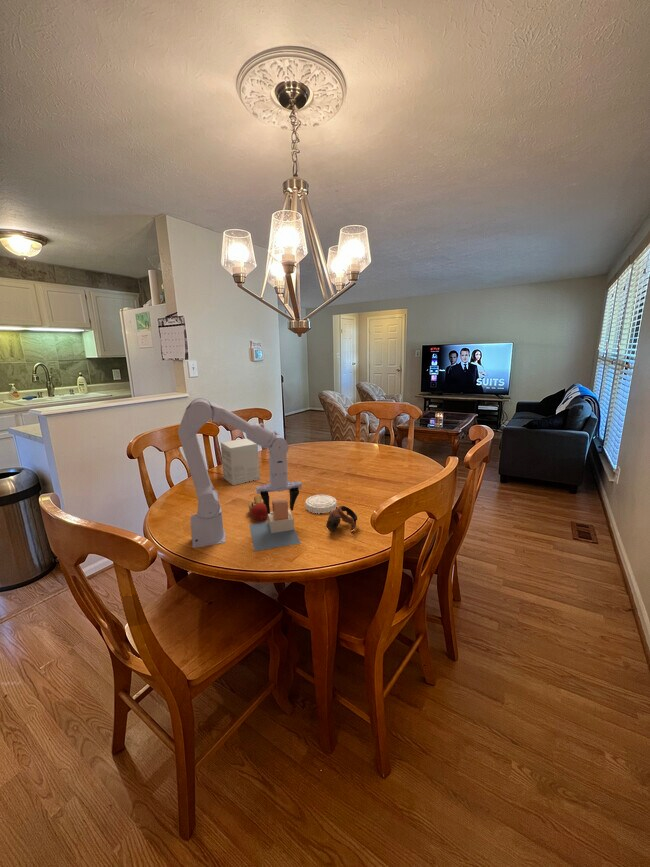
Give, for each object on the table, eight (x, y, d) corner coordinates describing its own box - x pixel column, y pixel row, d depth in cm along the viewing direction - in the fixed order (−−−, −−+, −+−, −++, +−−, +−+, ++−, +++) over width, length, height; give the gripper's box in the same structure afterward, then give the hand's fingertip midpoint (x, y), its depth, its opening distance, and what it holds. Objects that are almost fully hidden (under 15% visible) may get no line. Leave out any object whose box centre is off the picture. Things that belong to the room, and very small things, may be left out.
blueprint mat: (254, 552, 99) (254, 551, 99) (249, 525, 115) (249, 524, 115) (300, 544, 103) (300, 543, 103) (290, 519, 119) (290, 518, 118)
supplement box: (248, 471, 168) (246, 437, 164) (260, 479, 157) (258, 443, 154) (222, 477, 160) (219, 442, 157) (232, 485, 150) (229, 448, 146)
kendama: (246, 507, 132) (247, 522, 115) (247, 491, 132) (249, 503, 114) (265, 508, 134) (270, 523, 117) (267, 492, 134) (272, 505, 116)
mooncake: (300, 505, 130) (299, 497, 129) (327, 499, 135) (327, 491, 135) (313, 518, 120) (313, 509, 119) (342, 511, 125) (342, 502, 124)
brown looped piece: (331, 520, 119) (343, 501, 117) (351, 538, 115) (364, 519, 113) (314, 526, 109) (327, 506, 107) (335, 546, 104) (349, 526, 103)
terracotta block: (274, 522, 110) (273, 504, 108) (272, 515, 114) (272, 499, 113) (288, 520, 111) (287, 503, 110) (286, 514, 115) (285, 497, 114)
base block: (271, 533, 109) (270, 522, 108) (268, 522, 116) (267, 512, 115) (294, 529, 111) (293, 519, 110) (289, 519, 118) (289, 509, 117)
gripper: (257, 478, 103) (259, 519, 106) (303, 473, 107) (304, 513, 110) (254, 471, 110) (257, 510, 113) (298, 466, 114) (299, 504, 117)
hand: (280, 510), depth 112 cm, fingers open, 7 cm apart
